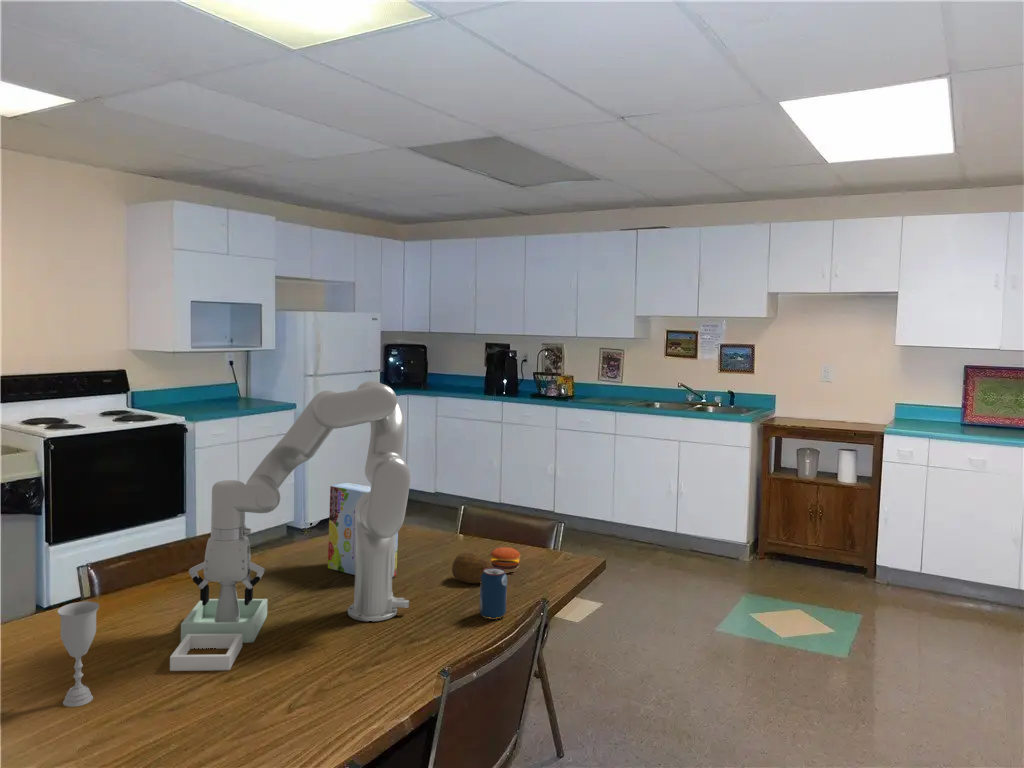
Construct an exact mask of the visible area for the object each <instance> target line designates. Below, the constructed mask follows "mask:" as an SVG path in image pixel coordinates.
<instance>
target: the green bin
mask: <svg viewBox="0 0 1024 768" xmlns="http://www.w3.org/2000/svg"><path fill="white" fill-rule="evenodd" d="M218 599H219V598H209V601H208V603H207V604H206V605H205V606H202V601H200V600H199V601H198V602H197V603H196V605H195V606H193V608H192V610H190V612H189V613H188V614H187V616H186V617H185V619H183V621H182V622H181V623H180V643H181V642H182V641H183V639H184V638H185V637H186V635H187V634H243V644H250V643H252V644H254V643H255V641H256V639H257V636H258V634H259V633H260V631H261V629H262V627H263V626H264V624H265V621H266V620H267V617H268V598H253V599H252V601H250V603H249V604H248V605H245V598H238V604H239V610H240V619H239V621H238V622H215V619H214V618H215V614H216V609H217V604H218Z"/></svg>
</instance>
